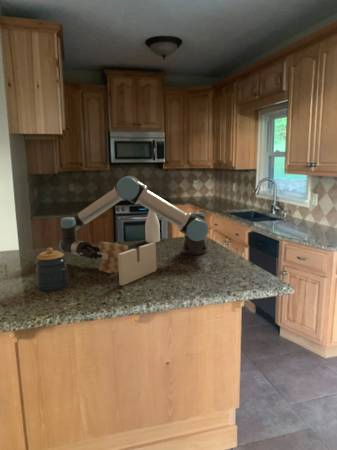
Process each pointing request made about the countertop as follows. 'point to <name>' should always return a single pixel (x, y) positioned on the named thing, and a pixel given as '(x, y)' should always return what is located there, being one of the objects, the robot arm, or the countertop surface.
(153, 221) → the white rounded block
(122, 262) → the cream board
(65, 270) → the canister
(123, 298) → the countertop surface
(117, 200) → the robot arm
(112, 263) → the brown angled piece
